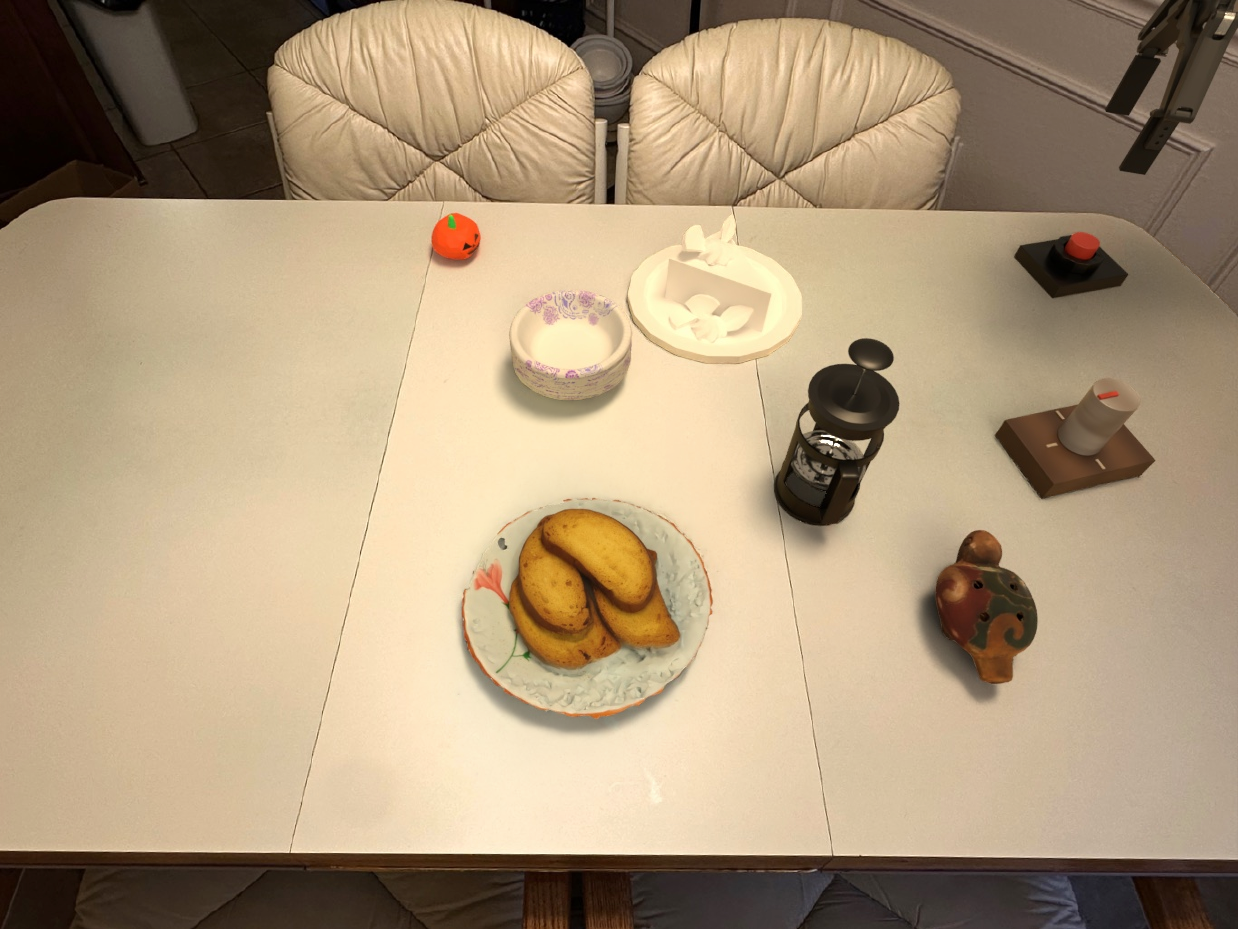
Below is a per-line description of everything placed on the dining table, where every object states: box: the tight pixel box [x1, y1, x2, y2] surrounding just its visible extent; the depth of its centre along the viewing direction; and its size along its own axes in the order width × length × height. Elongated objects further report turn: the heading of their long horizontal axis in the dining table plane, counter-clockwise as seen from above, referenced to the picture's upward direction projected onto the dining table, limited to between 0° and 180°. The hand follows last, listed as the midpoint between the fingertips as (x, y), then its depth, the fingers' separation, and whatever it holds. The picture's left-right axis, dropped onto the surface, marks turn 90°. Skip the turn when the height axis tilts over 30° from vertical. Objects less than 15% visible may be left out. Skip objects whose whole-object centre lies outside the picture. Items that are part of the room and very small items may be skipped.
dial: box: [1058, 377, 1141, 456], centre depth 86 cm, size 5×5×8 cm
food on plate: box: [461, 497, 714, 720], centre depth 75 cm, size 25×25×7 cm
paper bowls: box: [508, 289, 633, 401], centre depth 95 cm, size 15×15×8 cm
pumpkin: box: [430, 212, 482, 260], centre depth 110 cm, size 7×8×6 cm
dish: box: [627, 213, 803, 364], centre depth 102 cm, size 25×25×11 cm
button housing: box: [1013, 234, 1130, 299], centre depth 112 cm, size 12×10×4 cm
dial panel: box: [994, 403, 1156, 499], centre depth 90 cm, size 14×10×3 cm
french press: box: [773, 337, 901, 527], centre depth 78 cm, size 12×9×23 cm
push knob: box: [1065, 231, 1101, 260], centre depth 110 cm, size 4×4×2 cm
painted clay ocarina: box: [934, 529, 1039, 685], centre depth 75 cm, size 10×15×8 cm, turn 1°
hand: (1123, 140), depth 88 cm, fingers open, 13 cm apart
